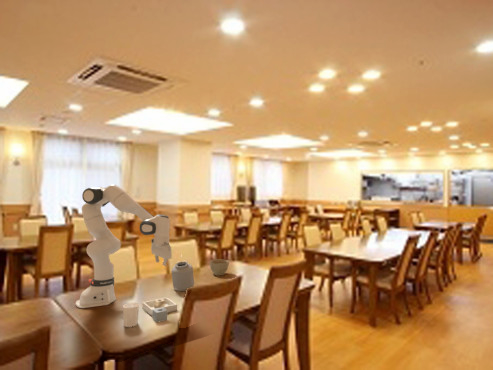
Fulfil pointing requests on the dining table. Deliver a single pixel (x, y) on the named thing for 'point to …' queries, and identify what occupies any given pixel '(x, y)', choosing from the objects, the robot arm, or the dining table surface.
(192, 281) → the jar
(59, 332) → the dining table surface
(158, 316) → the slate block
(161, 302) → the maple block
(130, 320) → the white cup
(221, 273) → the planter bowl
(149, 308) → the cream tray
